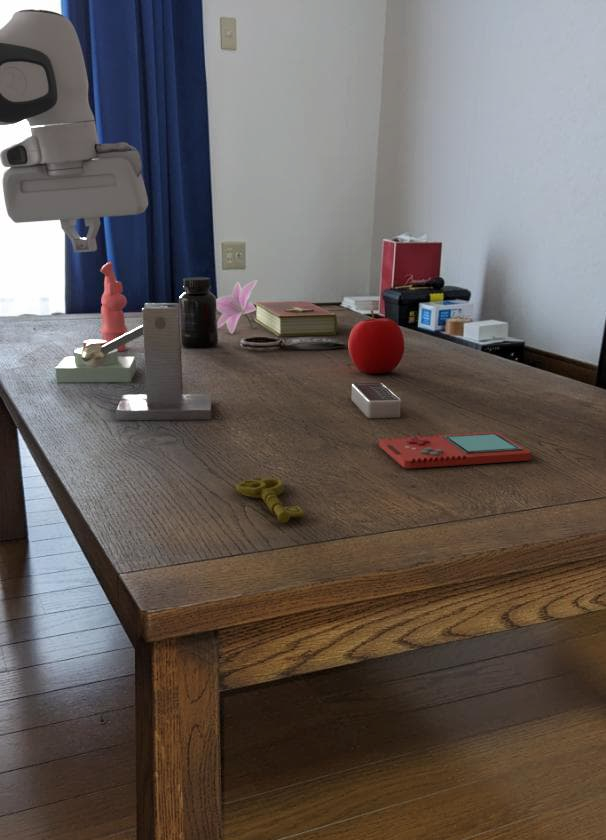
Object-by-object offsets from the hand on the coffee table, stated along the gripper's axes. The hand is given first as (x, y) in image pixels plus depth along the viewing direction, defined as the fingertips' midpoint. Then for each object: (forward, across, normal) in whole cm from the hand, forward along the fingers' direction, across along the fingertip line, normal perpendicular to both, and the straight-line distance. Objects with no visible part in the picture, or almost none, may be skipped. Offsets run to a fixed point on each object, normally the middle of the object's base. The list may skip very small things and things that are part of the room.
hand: (85, 251), depth 129 cm
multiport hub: (+22, -42, +8) cm, 48 cm away
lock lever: (+10, -12, +17) cm, 23 cm away
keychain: (+24, -21, -34) cm, 46 cm away
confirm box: (+19, +3, -2) cm, 19 cm away
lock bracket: (+19, -15, +17) cm, 29 cm away
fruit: (+24, -39, -16) cm, 48 cm away
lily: (+24, -6, -51) cm, 57 cm away
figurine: (+21, +9, -24) cm, 33 cm away
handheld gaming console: (+21, -53, +28) cm, 64 cm away
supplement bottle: (+23, -4, -32) cm, 39 cm away
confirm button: (+15, +3, -2) cm, 16 cm away
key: (+18, -36, +49) cm, 64 cm away
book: (+26, -17, -57) cm, 65 cm away
